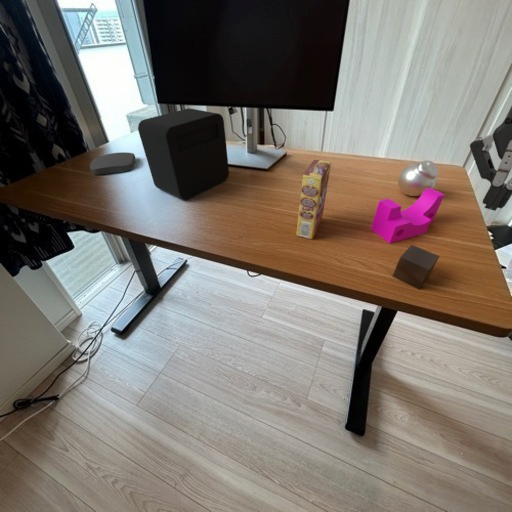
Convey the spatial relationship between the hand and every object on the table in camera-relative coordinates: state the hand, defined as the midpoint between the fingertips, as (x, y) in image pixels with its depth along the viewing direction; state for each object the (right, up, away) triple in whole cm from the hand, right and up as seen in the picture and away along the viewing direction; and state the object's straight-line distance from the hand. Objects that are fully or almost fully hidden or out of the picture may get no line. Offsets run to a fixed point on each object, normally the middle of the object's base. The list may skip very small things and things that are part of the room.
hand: (491, 207), depth 43 cm
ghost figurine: (+7, +10, +34) cm, 36 cm away
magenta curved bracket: (-2, -1, +22) cm, 22 cm away
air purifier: (-58, +16, +44) cm, 75 cm away
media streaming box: (-90, +26, +58) cm, 111 cm away
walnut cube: (-7, -12, +9) cm, 17 cm away
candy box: (-24, -1, +23) cm, 33 cm away
